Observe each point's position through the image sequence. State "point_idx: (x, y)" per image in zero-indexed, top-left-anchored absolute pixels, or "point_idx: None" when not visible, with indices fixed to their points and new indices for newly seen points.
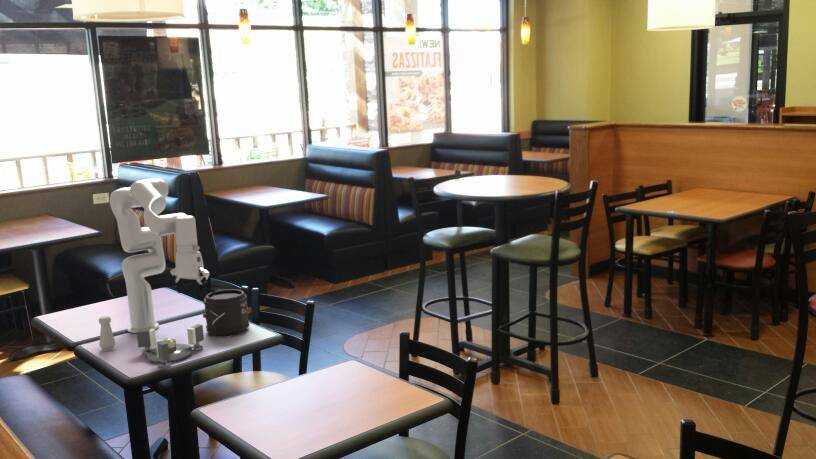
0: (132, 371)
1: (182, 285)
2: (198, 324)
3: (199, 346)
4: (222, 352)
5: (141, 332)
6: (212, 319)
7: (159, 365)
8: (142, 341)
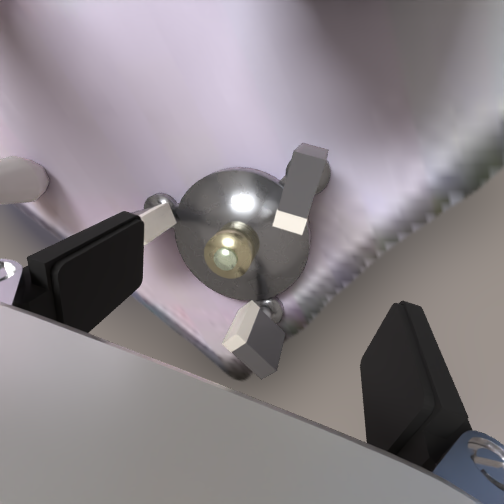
0: (206, 329)
1: (97, 272)
2: (300, 154)
3: None
4: (424, 203)
5: None
6: None
7: None
8: None
